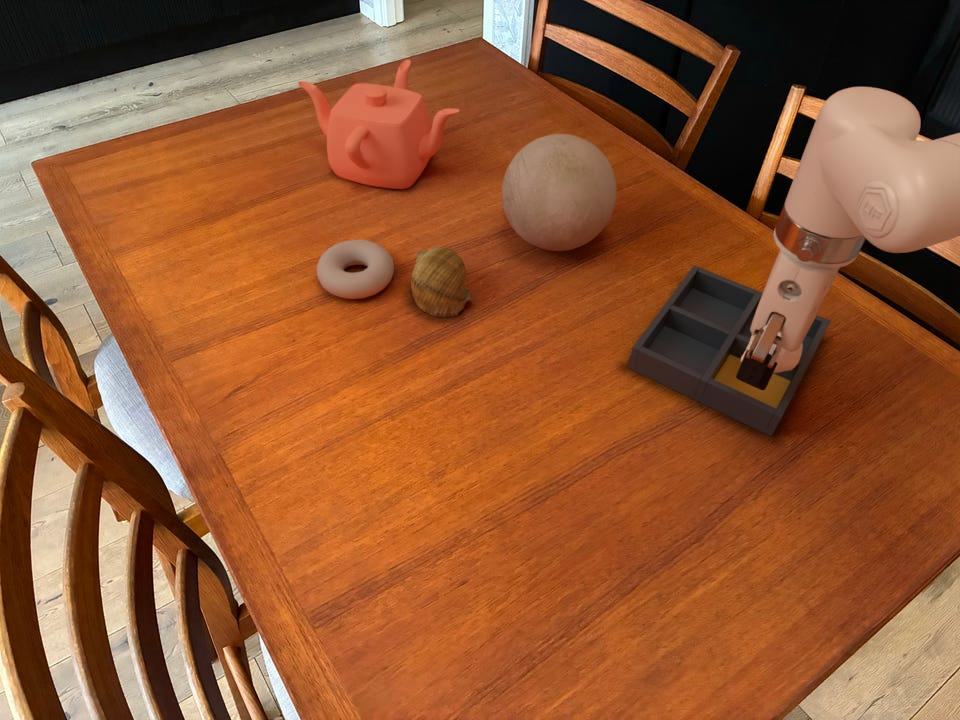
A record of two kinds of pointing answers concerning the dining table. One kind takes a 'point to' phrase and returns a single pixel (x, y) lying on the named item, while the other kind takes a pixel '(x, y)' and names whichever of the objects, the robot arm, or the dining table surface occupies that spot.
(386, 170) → the pot
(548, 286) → the dining table surface
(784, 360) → the garlic bulb
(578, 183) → the decorative sphere
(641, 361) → the grid
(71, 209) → the dining table surface
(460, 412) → the dining table surface
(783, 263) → the robot arm
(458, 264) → the seashell
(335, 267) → the donut
